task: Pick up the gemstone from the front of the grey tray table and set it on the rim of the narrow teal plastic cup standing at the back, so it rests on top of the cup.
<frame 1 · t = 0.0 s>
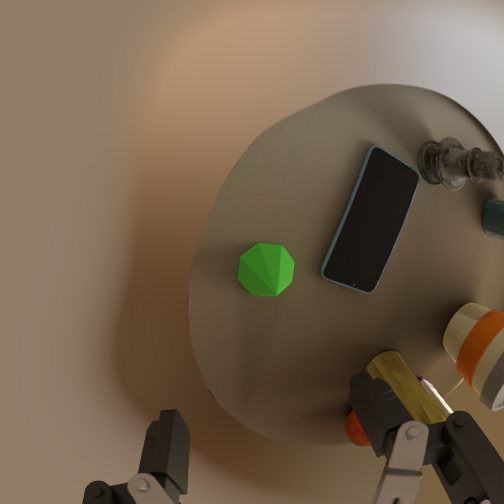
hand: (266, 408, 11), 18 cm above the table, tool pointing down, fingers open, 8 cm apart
supplement box: (414, 392, 37), on the table
gemstone: (266, 269, 28), on the table
chess piece: (432, 162, 27), on the table
smartphone: (371, 220, 28), on the table
teal cup: (491, 216, 30), on the table
reusable coffee cup: (461, 327, 35), on the table
vase: (381, 366, 34), on the table
fruit: (359, 408, 36), on the table
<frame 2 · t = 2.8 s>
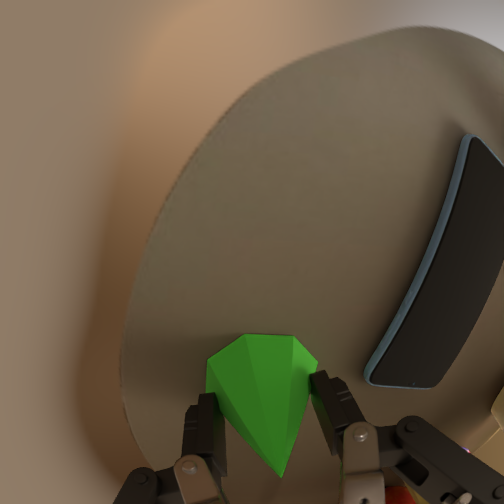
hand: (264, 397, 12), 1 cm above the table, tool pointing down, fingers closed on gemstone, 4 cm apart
gemstone: (260, 376, 13), on the table, touching gripper
smartphone: (456, 274, 13), on the table
fruit: (381, 490, 21), on the table
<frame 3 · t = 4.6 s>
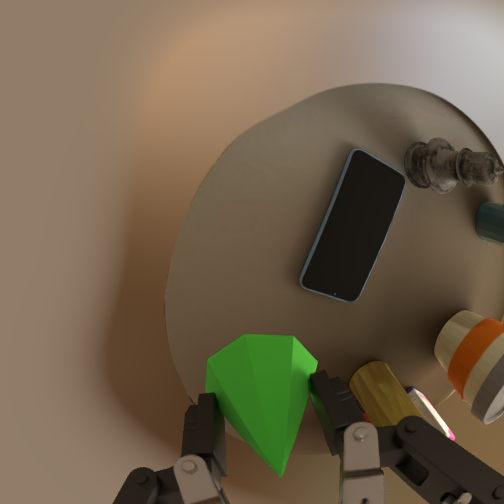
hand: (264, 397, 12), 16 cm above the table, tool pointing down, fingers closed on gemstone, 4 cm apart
supplement box: (405, 402, 36), on the table
gemstone: (260, 376, 13), point 15 cm above the table, touching gripper
chess piece: (421, 165, 26), on the table
smartphone: (354, 227, 27), on the table
teal cup: (486, 220, 29), on the table
reusable coffee cup: (454, 335, 34), on the table
vase: (368, 376, 33), on the table
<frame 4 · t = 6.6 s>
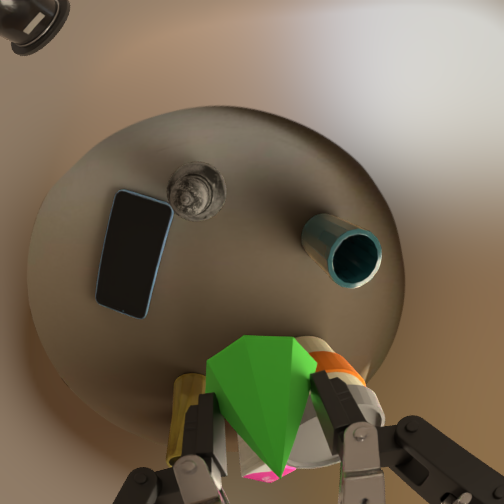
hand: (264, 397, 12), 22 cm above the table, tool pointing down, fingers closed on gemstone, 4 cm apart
supplement box: (259, 418, 41), on the table
gemstone: (260, 377, 13), point 20 cm above the table, touching gripper
chess piece: (199, 189, 30), on the table
smartphone: (130, 256, 31), on the table
teal cup: (323, 236, 33), on the table
reusable coffee cup: (300, 360, 38), on the table
vase: (194, 386, 38), on the table
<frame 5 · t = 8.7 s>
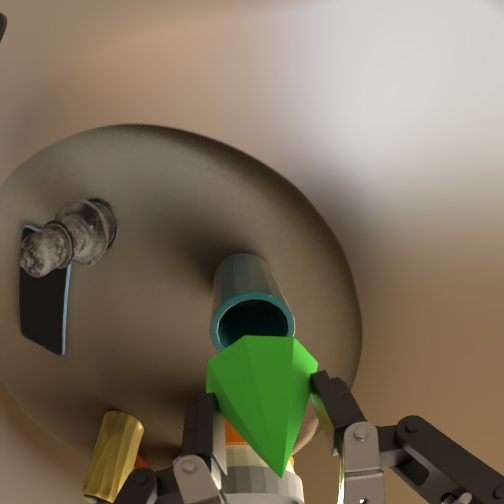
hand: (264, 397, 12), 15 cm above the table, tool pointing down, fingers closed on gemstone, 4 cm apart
gemstone: (261, 378, 13), point 14 cm above the table, touching gripper
chess piece: (96, 225, 24), on the table
smartphone: (43, 293, 25), on the table
teal cup: (243, 281, 27), on the table
reusable coffee cup: (232, 410, 32), on the table
vase: (124, 422, 31), on the table
fruit: (130, 451, 33), on the table
when the fingers open (10 cm above the table, at t = 10.3 s): gemstone stays where it is, resting on teal cup.
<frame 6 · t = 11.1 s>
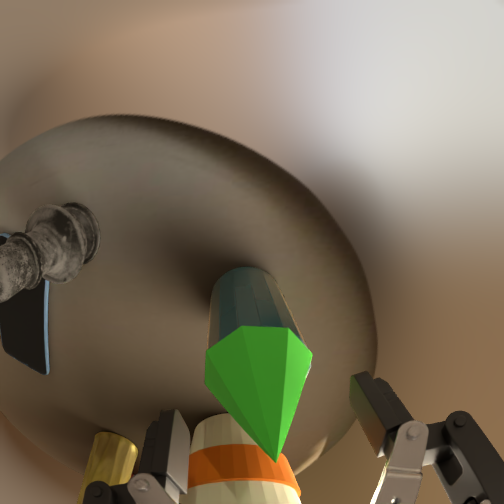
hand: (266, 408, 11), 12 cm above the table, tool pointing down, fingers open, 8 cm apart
gemstone: (257, 368, 14), point 9 cm above the table, touching teal cup
chess piece: (74, 234, 20), on the table
smartphone: (23, 308, 21), on the table
teal cup: (245, 299, 23), on the table, touching gemstone
reusable coffee cup: (232, 434, 28), on the table
vase: (116, 443, 27), on the table
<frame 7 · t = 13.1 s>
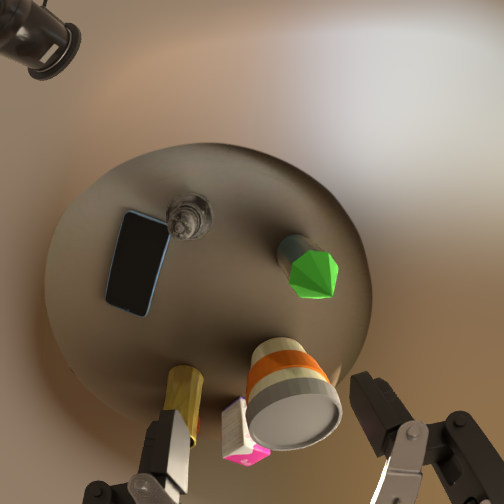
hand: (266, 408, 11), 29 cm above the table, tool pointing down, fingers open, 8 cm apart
supplement box: (242, 409, 47), on the table
gemstone: (313, 274, 31), point 9 cm above the table, touching teal cup
chess piece: (193, 212, 37), on the table
smartphone: (136, 265, 38), on the table
teal cup: (296, 253, 40), on the table, touching gemstone
reusable coffee cup: (277, 358, 44), on the table
vase: (186, 377, 44), on the table
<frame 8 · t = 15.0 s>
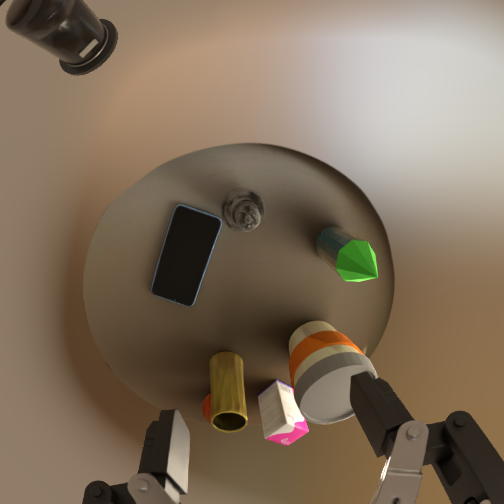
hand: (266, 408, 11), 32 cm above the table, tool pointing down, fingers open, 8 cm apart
supplement box: (276, 392, 51), on the table
gemstone: (355, 260, 35), point 9 cm above the table, touching teal cup
chess piece: (241, 207, 41), on the table
smartphone: (184, 256, 42), on the table
teal cup: (332, 244, 44), on the table, touching gemstone
reusable coffee cup: (312, 341, 49), on the table
vase: (226, 363, 48), on the table
fruit: (220, 395, 50), on the table
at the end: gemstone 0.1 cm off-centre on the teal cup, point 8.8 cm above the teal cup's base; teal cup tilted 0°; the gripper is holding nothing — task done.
